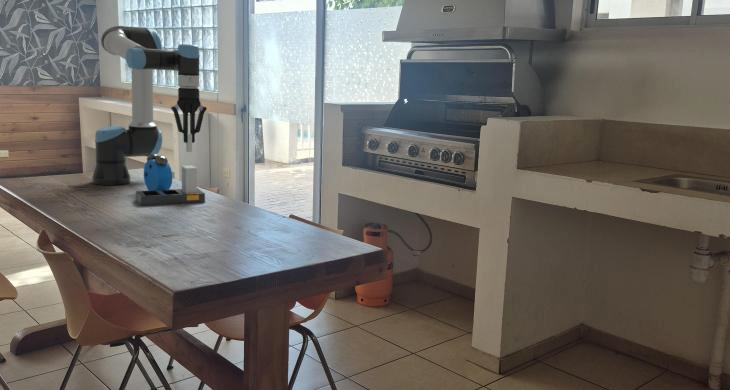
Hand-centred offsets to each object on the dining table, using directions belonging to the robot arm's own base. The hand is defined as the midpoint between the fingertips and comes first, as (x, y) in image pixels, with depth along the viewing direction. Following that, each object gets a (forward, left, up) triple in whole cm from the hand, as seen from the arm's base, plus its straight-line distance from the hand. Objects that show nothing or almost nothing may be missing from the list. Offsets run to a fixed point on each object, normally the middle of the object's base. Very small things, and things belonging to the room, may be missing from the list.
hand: (189, 151), depth 248 cm
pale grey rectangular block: (0, 0, -18) cm, 18 cm away
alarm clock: (-19, -8, -19) cm, 28 cm away
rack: (0, -7, -19) cm, 20 cm away
